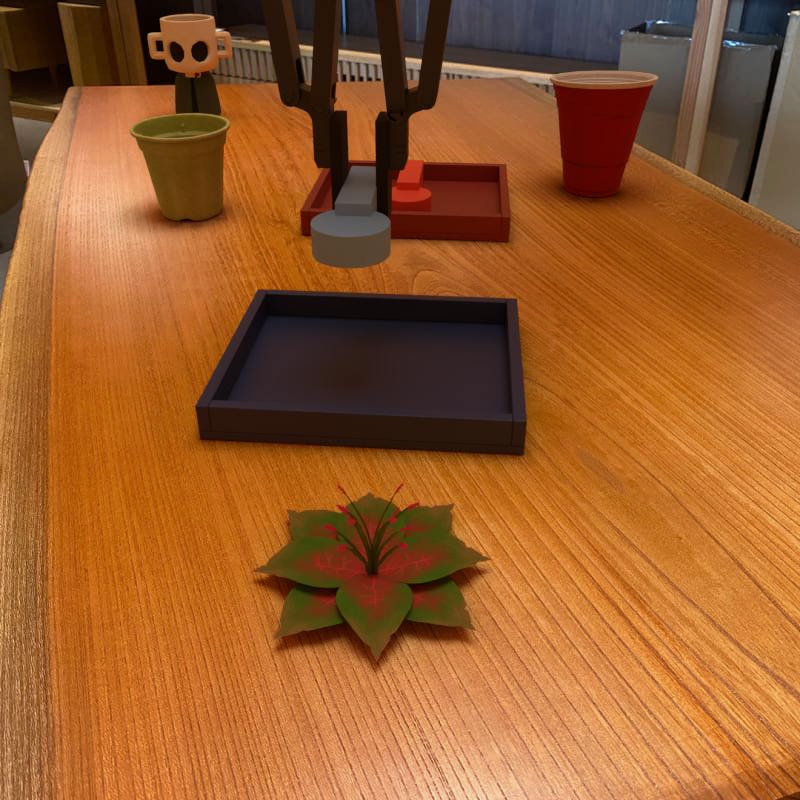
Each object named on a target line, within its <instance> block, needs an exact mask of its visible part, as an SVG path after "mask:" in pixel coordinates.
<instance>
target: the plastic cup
mask: <svg viewBox="0 0 800 800" xmlns="http://www.w3.org/2000/svg"><path fill="white" fill-rule="evenodd" d="M658 80H659V76H658V75H657V74H652V73H648V72H640V71H629V70H578V71H569V72H561V73H557V74H552V75H550V77H549V81H550V82H549V83H551V84H552V87H553V90H554V97H555V100H556V108H557V114H558V129H559V132H558V133H559V147H560V158H561V163H562V165H561V166H562V182H563V184H564V190H565V191H567V192H568V193H570V194H573V195H575V196H580V197H584V198H585V197H587V198H605V197H610V196H613V195H615V194H617V193H618V191H619V188H620V186H621V183H622V180H623V176H624V173H625V169H626V166H627V164H628V163H629V159H630V157H631V156H630V155H631V154H632V149H633V146H634V143H635V141H636V136H637V133H638V129H639V127H640V123H641V120H642V117H643V113H644V111H645V109H646V106H647V102H648V101H649V98H650V94H651V92H652V90H653V88H654V85H656V84H657V82H658Z"/></svg>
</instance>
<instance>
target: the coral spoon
mask: <svg viewBox="0 0 800 800" xmlns="http://www.w3.org/2000/svg"><path fill="white" fill-rule="evenodd" d="M424 162H425V161H424V159H408V160H407V163H406V166H405V168H404V170H400V173H399V176H398V180H397V187H392V211H417V212H431V200H432V194H431V192H430V191H429V190H427V189H425V188H423V169H424Z"/></svg>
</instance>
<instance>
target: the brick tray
mask: <svg viewBox="0 0 800 800" xmlns="http://www.w3.org/2000/svg"><path fill="white" fill-rule="evenodd" d="M352 166H372V167H376V160H367V159H366V160H360V159H349V172H350V169H351V167H352ZM507 168H508V167H507V164H506V163H482V162H481V163H480V162H445V161H444V162H443V161H442V162H440V161H424V169H423V188H425V189H427V190H429V191H430V192H431V194H432V200H431V212H417V211H392V212H391V215H390V222H391V239H392V238H393V239H395V238H396V239H424V240H427V239H428V240H452V241H453V240H454V241H457V240H458V241H482V242H483V241H486V242H488V241H489V242H509V241H510V230H511V218H512V217H511V205H510V194H509V193H510V192H509V180H508V179H509V178H508V169H507ZM399 173H400V170H392V187H397V180H398V176H399ZM327 211H332V187H331V168H322V170H321V171H320V173H319V175H318V177H317V179H316V181H315V183H314V184H313V186H312V188H311V190H310V192H309V193H308V195H307V197H306V199H305V201H304V203H303V205H302V207H301V208H300V211H299V214H300V228H301V230H300V231H301V235H302V236H311V224H310V223H311V220H312V219H313V218H314V217H315V216H317V215H319V214H321V213H324V212H327Z"/></svg>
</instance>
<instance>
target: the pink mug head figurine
mask: <svg viewBox="0 0 800 800" xmlns="http://www.w3.org/2000/svg"><path fill="white" fill-rule="evenodd" d="M159 24H160V32H149V33H147V43H148V44H147V45H148V51H149V56H150V58H151V59H153V60H164V62H165V64H166V66H167V68H168V70H170V71H173V72H177V74H176V76H175V80H174V106H175V107H174V108H175V109H174V110H175V114H184V113H201V114H211V115H217V116H221V114H222V111H223V110H222V106H221V101H220V97H219V93H218V89H217V85H216V81H215V78H214V76H213V75H212V73H211V72H210V71H212V70H214V69H216V68H217V67H219V63H220V59H229V58H232V57H233V53H234V52H233V44H232V35H231V33H230V32H229V31H224V30H223V31H217V29H216V20H215V17H214V16H213V15H209V14H202V13H198V14H197V13H182V14H181V13H179V14H172V15H171V14H170V15H166V16H162V17H160V18H159ZM218 40H223V45H224V50H222V49H221V50H219V49H218V48H219V47H218ZM157 41H162V46H163V50H162V51H158V49H157V44H156V43H157Z"/></svg>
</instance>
